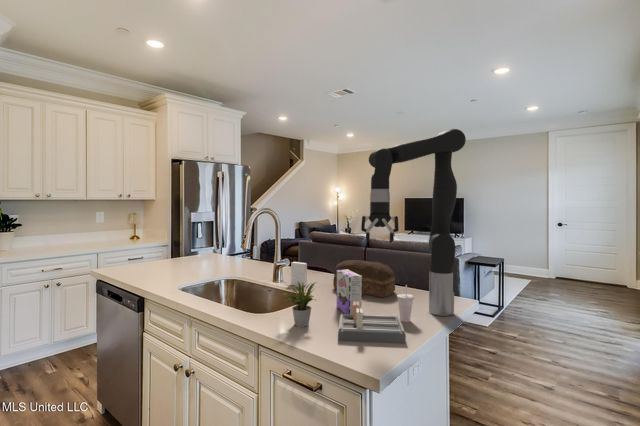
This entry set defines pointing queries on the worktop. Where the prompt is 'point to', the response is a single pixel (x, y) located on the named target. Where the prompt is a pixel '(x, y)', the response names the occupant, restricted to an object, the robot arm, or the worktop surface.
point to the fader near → (359, 318)
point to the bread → (370, 276)
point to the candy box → (348, 290)
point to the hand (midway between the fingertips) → (379, 242)
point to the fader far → (355, 305)
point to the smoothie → (405, 305)
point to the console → (372, 329)
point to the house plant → (301, 304)
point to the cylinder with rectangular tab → (298, 273)
